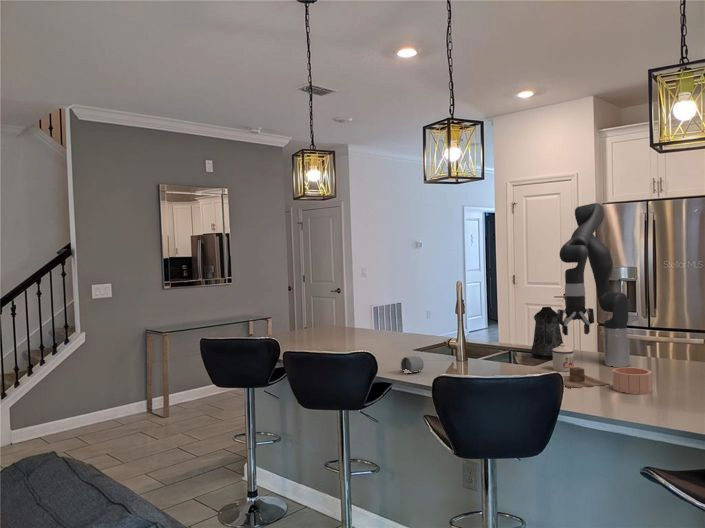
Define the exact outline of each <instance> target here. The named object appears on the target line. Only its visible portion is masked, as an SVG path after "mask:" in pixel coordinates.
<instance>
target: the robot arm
mask: <svg viewBox="0 0 705 528" xmlns="http://www.w3.org/2000/svg"><path fill="white" fill-rule="evenodd" d="M574 216H575V220H576V224H577V228H575V229H574V231H573V233H572V234H571V237H570V239H568V240H567V242H565V243H564V244H563V245H562V246H561V248H560V251H559V259H560V260H561V261H562V262H563V263H568V264H571V263H574V264H575V263H577V265H576V266H575V267H571V268H567V269H566V270H565V272H564V279H565V281H564V282H565V283H564V284H565V285H564V302H565V303H564V306H565V309H560V308H558V309H557V312H556V313H557V323H558V324H559V325H561V326H562V327H561V329H562V331H561V333H562V334H563V336H568V335H569V332H568V331H569V330H568V327H569V326H568V324H569V323H570V322H571V321H576V320H578V321H582V322H583V324H584V325H583V332H584V333H583V334H584V335H589V333H590V332H591V331H590V325H591V324H594V323H595V315H594V314H595V313H594V308H591V307H587V308H586V288H585V268H586V263H587V261H588V262H589V265H590V268H591V271H592V274H593V275H592V276H593V278H594V283H595V289H596V292H597V293H596V294H597V299H598V300H597V301H598V304H599V307H600V308H601V310H602V311H604V312H607V313H612V317H611V318H610V319H606V320H605V321H604V322H603V331H604V332H603V334H604V361H605V362H604V364H605V366H607V367H611V366H613V367H612V368H620V367H630V366H631V359H630V358H631V357H630V344H628V327H627V325H628V321H629V307H630V306H629V304H630V303H629V299H628V296H627V295H626V293H623V292H615V291H614V292H612V290H611V285H610V277H611V273H612V270H613V267H614V262H613V258H612V254H611V251H610V248H608V246H607V245H605V244H604V243H603V242H602V241H601V240H600V239H599V238H597V237H596V236H595V235H594V233H595V232H596V230H597V229H598V228H599V227H600V226H601V224H602V223H603V221H604V217H605V210H604V208H603V206H602V205H601V204H600V203H599V202H594V203H589V204H584V205H581V206H576V208H575V210H574ZM585 314H587V317H586V315H585ZM564 315H565V317H564Z"/></svg>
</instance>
